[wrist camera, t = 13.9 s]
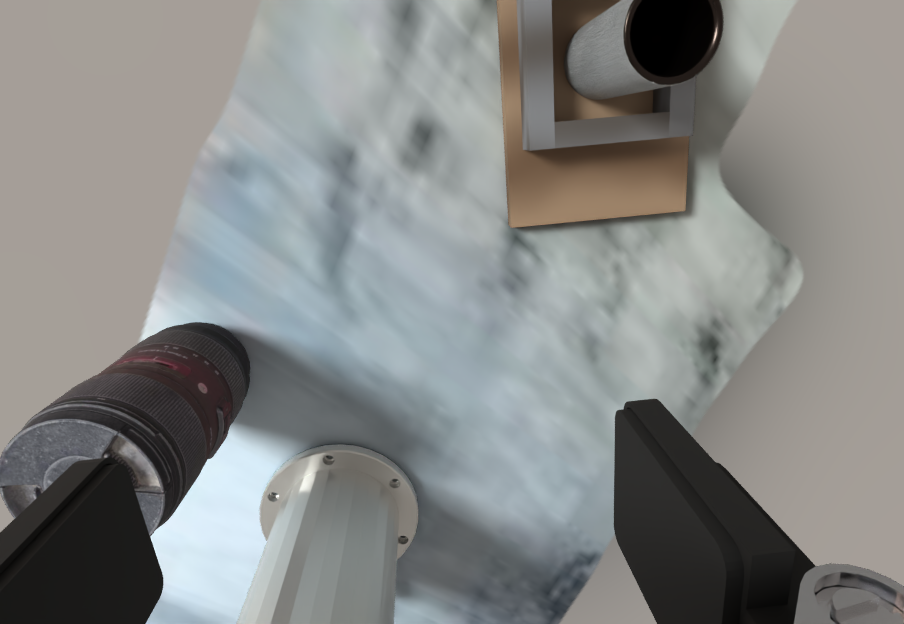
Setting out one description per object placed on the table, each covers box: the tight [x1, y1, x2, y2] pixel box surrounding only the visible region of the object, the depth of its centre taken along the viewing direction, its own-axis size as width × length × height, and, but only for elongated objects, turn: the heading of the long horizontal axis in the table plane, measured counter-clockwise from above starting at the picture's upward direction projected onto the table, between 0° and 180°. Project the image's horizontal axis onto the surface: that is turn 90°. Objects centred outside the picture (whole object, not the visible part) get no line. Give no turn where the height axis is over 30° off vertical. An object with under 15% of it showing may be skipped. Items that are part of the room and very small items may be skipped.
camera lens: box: [0, 322, 250, 536], centre depth 32 cm, size 8×8×15 cm
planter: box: [564, 0, 723, 100], centre depth 28 cm, size 4×4×10 cm
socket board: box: [497, 0, 696, 228], centre depth 32 cm, size 20×12×4 cm, turn 5°
